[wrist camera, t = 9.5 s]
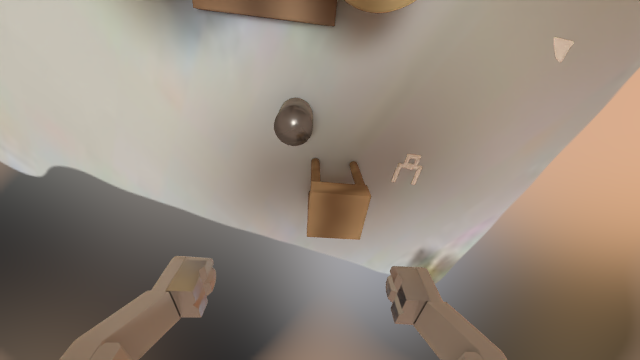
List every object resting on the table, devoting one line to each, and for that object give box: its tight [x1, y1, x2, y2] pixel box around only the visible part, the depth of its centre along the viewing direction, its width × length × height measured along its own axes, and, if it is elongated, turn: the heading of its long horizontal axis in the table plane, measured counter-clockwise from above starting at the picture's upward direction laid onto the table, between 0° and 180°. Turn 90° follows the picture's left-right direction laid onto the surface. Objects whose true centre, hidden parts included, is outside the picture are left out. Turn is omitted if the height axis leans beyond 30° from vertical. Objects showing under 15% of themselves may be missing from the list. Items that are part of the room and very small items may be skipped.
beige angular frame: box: [391, 37, 574, 185], centre depth 28 cm, size 25×17×1 cm
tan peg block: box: [307, 158, 371, 240], centre depth 27 cm, size 6×6×8 cm
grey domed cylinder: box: [274, 98, 313, 146], centre depth 23 cm, size 4×4×4 cm
